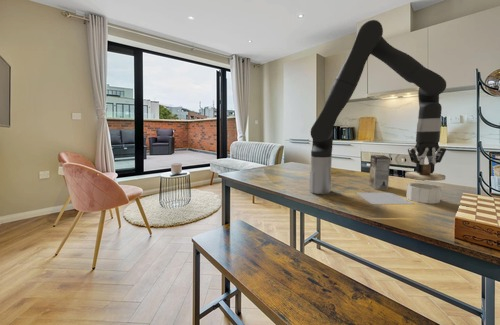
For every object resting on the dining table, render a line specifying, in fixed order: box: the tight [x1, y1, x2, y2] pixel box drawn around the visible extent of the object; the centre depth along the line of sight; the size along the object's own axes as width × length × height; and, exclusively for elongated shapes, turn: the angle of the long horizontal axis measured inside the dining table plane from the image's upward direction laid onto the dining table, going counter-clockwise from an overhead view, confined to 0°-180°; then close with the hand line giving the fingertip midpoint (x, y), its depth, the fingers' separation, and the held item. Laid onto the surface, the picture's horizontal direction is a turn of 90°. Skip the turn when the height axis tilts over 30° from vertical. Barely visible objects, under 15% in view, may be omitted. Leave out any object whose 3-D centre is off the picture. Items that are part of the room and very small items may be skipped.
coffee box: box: [368, 154, 391, 191], centre depth 115 cm, size 9×6×16 cm
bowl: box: [405, 182, 442, 204], centre depth 95 cm, size 11×11×6 cm
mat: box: [355, 192, 415, 205], centre depth 98 cm, size 16×16×1 cm
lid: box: [404, 163, 446, 182], centre depth 94 cm, size 13×13×5 cm
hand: (424, 172), depth 94 cm, fingers closed on lid, 3 cm apart
